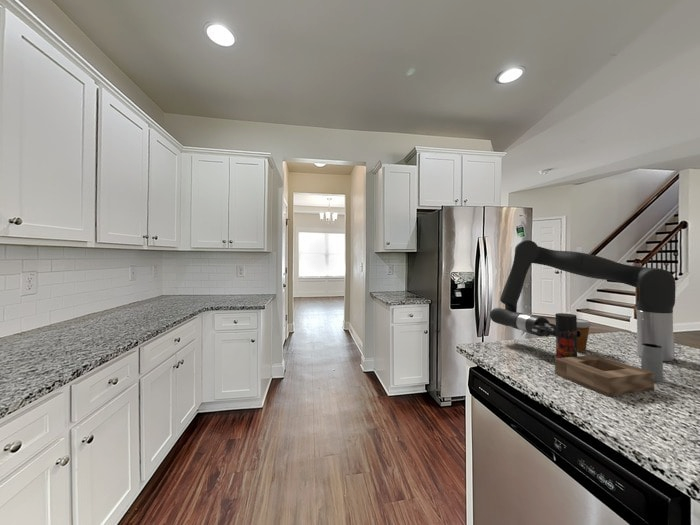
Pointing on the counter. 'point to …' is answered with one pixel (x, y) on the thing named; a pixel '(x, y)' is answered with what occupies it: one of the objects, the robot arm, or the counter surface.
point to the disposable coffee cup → (584, 328)
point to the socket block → (605, 375)
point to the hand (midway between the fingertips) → (572, 334)
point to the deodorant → (568, 326)
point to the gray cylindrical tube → (652, 360)
